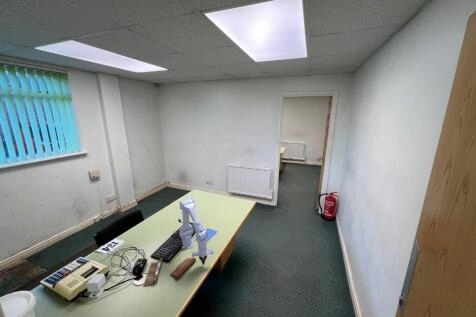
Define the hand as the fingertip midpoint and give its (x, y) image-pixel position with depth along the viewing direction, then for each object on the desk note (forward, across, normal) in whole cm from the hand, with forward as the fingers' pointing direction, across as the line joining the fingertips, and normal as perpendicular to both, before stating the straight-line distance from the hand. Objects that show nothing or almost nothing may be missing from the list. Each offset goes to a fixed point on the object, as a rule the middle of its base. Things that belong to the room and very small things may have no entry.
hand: (203, 263), depth 129 cm
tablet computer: (+3, +2, +33) cm, 33 cm away
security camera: (+2, -63, -8) cm, 64 cm away
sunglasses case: (+3, -14, +1) cm, 14 cm away
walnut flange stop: (+2, -33, 0) cm, 33 cm away
